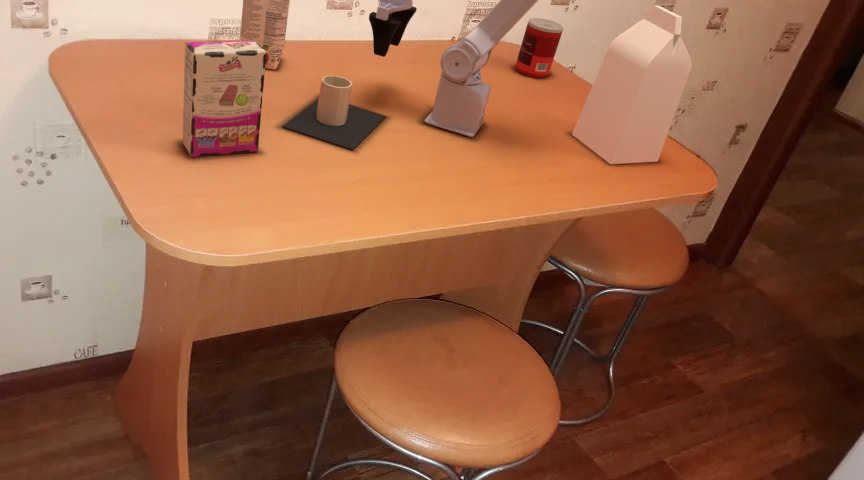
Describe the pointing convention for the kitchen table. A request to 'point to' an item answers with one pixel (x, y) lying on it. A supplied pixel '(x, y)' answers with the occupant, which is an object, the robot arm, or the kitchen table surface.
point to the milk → (636, 91)
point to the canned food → (538, 47)
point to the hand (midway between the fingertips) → (386, 49)
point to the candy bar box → (222, 97)
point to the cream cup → (333, 100)
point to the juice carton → (266, 27)
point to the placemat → (343, 135)
